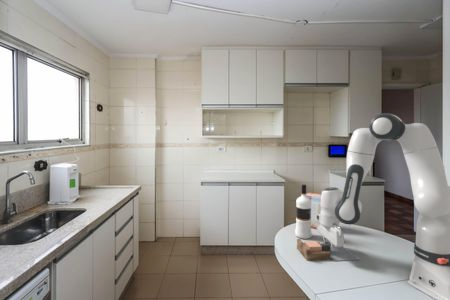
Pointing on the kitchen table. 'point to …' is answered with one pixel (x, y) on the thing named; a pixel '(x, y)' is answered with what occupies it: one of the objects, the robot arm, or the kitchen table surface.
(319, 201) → the cracker box
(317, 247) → the terracotta block
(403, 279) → the kitchen table surface
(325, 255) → the brown wooden tray
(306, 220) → the vodka
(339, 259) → the grey pad
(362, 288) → the kitchen table surface
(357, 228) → the kitchen table surface
